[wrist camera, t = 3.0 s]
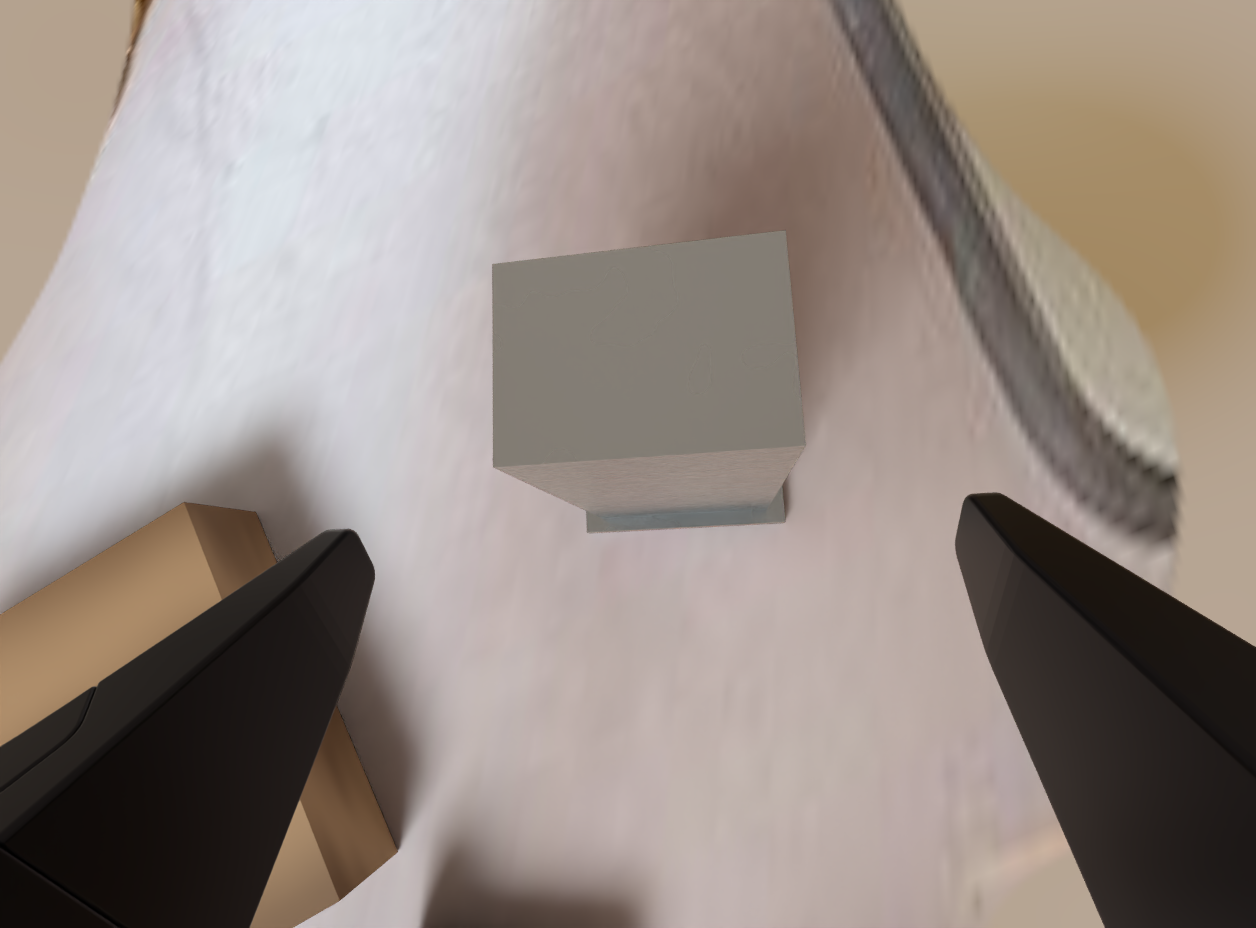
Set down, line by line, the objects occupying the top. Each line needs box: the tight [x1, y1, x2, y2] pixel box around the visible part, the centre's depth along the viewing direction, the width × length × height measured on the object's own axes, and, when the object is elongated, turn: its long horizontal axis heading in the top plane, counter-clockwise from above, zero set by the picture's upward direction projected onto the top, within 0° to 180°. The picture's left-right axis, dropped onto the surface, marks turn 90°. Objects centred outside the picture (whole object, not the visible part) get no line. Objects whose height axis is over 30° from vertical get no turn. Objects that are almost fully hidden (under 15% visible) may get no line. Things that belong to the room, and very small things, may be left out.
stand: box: [0, 502, 398, 928], centre depth 19 cm, size 12×12×3 cm
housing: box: [492, 230, 806, 533], centre depth 15 cm, size 4×6×10 cm
